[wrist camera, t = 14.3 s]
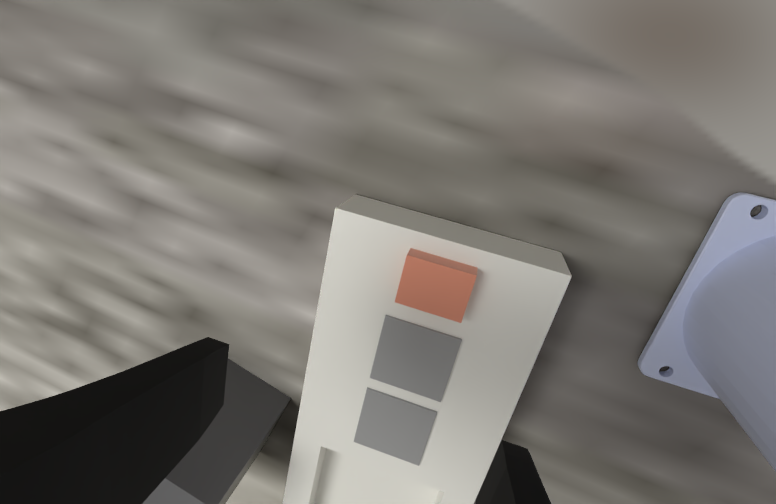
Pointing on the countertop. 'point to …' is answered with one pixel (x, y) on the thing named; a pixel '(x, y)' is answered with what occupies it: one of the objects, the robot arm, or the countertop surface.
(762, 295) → the robot arm
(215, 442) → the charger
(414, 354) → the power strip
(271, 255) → the countertop surface
